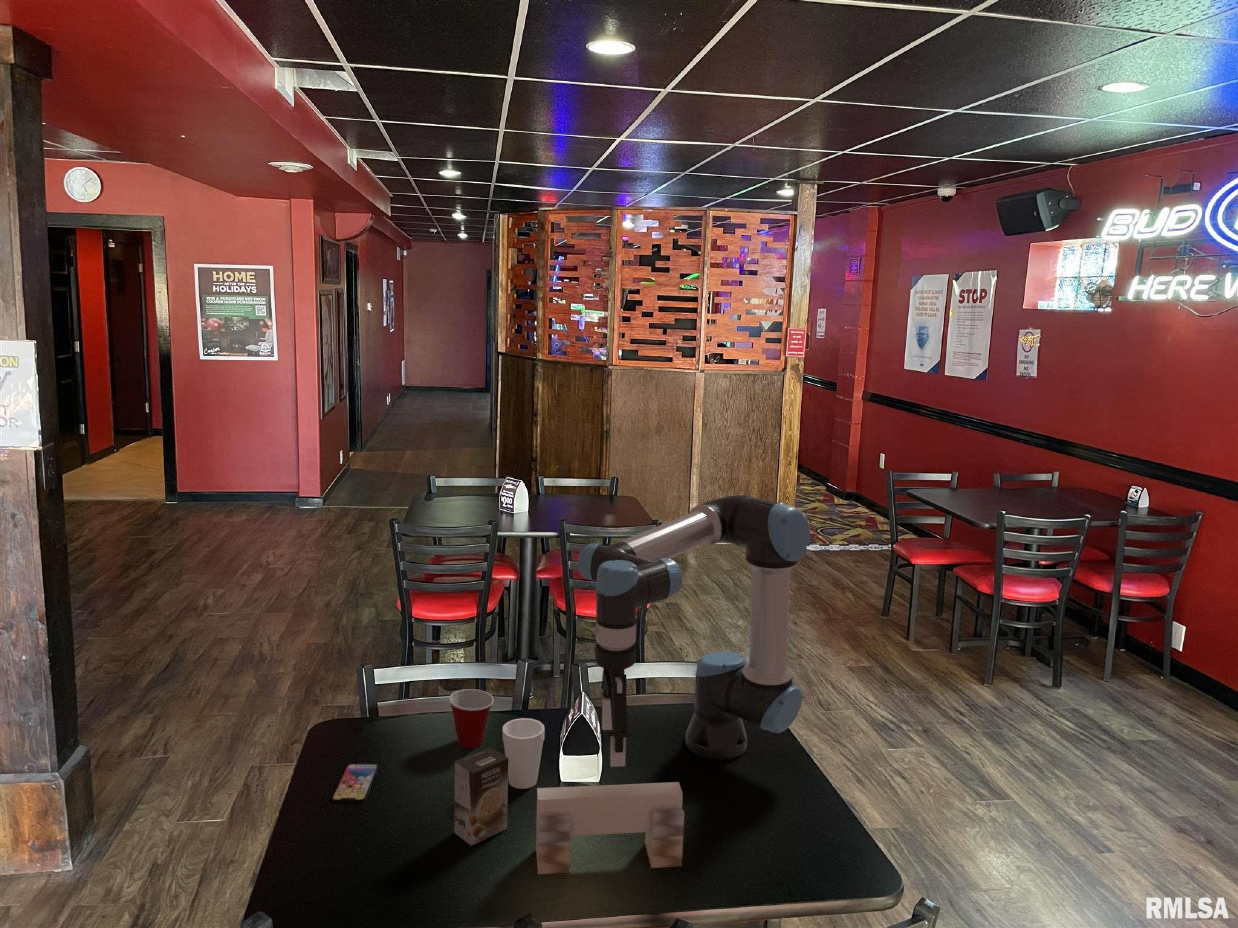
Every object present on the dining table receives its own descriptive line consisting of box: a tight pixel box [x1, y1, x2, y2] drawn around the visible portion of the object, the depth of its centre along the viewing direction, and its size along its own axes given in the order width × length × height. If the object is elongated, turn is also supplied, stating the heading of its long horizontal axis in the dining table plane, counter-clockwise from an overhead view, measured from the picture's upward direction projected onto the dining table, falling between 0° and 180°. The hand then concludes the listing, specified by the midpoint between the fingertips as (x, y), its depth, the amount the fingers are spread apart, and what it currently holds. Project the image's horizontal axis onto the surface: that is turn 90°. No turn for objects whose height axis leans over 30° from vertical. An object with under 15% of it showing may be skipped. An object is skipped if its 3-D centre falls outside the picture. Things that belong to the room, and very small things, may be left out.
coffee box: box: [453, 747, 509, 846], centre depth 181 cm, size 9×6×16 cm
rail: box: [536, 781, 684, 838], centre depth 173 cm, size 28×4×8 cm, turn 98°
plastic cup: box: [448, 688, 495, 750], centre depth 216 cm, size 11×11×12 cm
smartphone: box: [331, 763, 380, 804], centre depth 199 cm, size 7×1×15 cm
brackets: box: [535, 809, 685, 875], centre depth 174 cm, size 28×8×12 cm, turn 98°
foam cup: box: [502, 717, 546, 790], centre depth 200 cm, size 10×9×13 cm
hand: (613, 746), depth 171 cm, fingers open, 13 cm apart
